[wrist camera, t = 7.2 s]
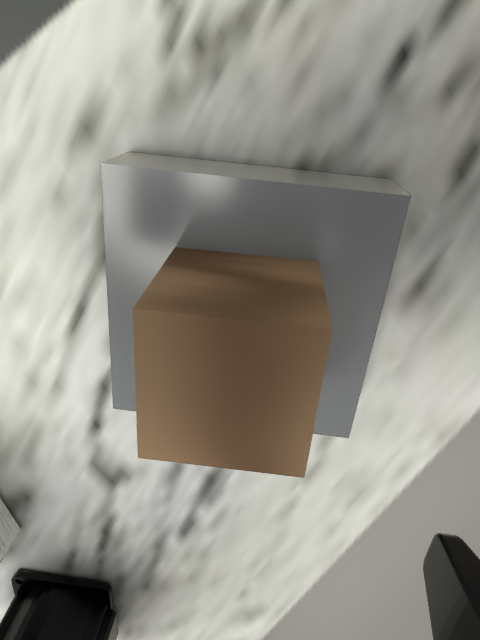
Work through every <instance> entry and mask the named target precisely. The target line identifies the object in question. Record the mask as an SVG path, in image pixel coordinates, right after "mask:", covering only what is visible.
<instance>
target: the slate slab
mask: <svg viewBox="0 0 480 640" xmlns="http://www.w3.org/2000/svg"><path fill="white" fill-rule="evenodd" d="M101 176H102V196H103V216H104V236H105V256H106V275H107V295H108V315H109V335H110V355H111V375H112V395H113V408H114V409H122V410H129V411H136V385H135V357H134V330H133V307H134V306H135V304H136V303H137V302H138V300H139V299H140V297H141V296H142V294H143V293H144V291H145V290H146V288H147V287H148V286H149V284H150V283H151V281H152V280H153V278H154V277H155V275H156V274H157V272H158V271H159V270H160V268H161V267H162V265H163V264H164V262H165V261H166V259H167V258H168V256H169V255H170V254H171V252H172V251H173V249H174V248H175V247H180V248H190V249H200V250H210V251H220V252H230V253H240V254H250V255H260V256H270V257H280V258H289V259H299V260H309V261H319V265H320V270H321V275H322V280H323V285H324V290H325V295H326V300H327V305H328V310H329V314H330V319H331V324H332V329H333V330H332V336H331V341H330V346H329V351H328V356H327V362H326V367H325V372H324V377H323V383H322V388H321V393H320V398H319V403H318V409H317V414H316V419H315V424H314V429H313V434H321V435H328V436H336V437H344V438H349V435H350V431H351V427H352V423H353V420H354V416H355V412H356V408H357V404H358V400H359V396H360V392H361V388H362V384H363V381H364V377H365V373H366V369H367V365H368V361H369V357H370V353H371V349H372V345H373V342H374V338H375V334H376V330H377V326H378V322H379V318H380V314H381V310H382V306H383V302H384V299H385V295H386V291H387V287H388V283H389V279H390V275H391V271H392V267H393V263H394V260H395V256H396V252H397V248H398V244H399V240H400V236H401V232H402V228H403V224H404V221H405V217H406V213H407V209H408V205H409V201H410V197H411V196H410V195H409V194H408V193H407V192H406V191H404V190H403V189H402V188H401V187H400V186H398V185H397V184H396V183H395V182H394V181H392V180H391V179H383V178H374V177H364V176H355V175H345V174H336V173H326V172H317V171H307V170H298V169H288V168H278V167H269V166H259V165H250V164H240V163H231V162H221V161H212V160H202V159H193V158H183V157H173V156H164V155H154V154H145V153H135V152H127V153H125V154H122V155H120V156H117V157H115V158H112V159H110V160H107V161H105V162H102V163H101Z"/></svg>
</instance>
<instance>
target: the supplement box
mask: <svg viewBox="0 0 480 640" xmlns="http://www.w3.org/2000/svg"><path fill="white" fill-rule="evenodd" d="M19 532H20V528H19V526H18V524H17V523H16V521H15V520H14V518H13V517H12V515H11V514H10V512H9V510H8V509H7V507H6V506H5V504H4V502H3V501H2V499H1V498H0V563H1V561H2V560H3V558H4V556H5V555H6V553H7V551H8V550H9V548H10V546H11V545H12V543H13V541H14V540H15V538H16V537H17V535H18V533H19Z"/></svg>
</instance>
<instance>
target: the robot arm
mask: <svg viewBox="0 0 480 640" xmlns="http://www.w3.org/2000/svg"><path fill="white" fill-rule="evenodd" d="M423 572H424V579H425V585H426V593H427V599H428V606H429V613H430V620H431V627H432V633H433V640H480V559H479V558H478V557H477V556H476V555H475V553H474V552H473V551H472V550H471V549H470V548H469V547H468V545H467V544H466V543H465V542H464V541H463V540H462V539H461V538H460V537H458V536H456V535H451V534H443V533H437V534H436V535H435V536H434V537H433V540H432V542H431V544H430V547H429V549H428V551H427V554H426V556H425V559H424V564H423ZM12 585H13V589H14V593H15V596H14V598H13V600H12V602H11V604H10V606H9V608H8V610H7V612H6V613H5V615H4V617H3V619H2V621H1V623H0V640H116V639H117V635H118V626H117V613H116V611H115V610H114V609H113V600H112V588H111V586H110V585H109V584H107V583H102V582H95V581H88V580H81V579H74V578H67V577H60V576H52V575H45V574H38V573H31V572H24V571H17V572H16V573H15V574H14V576H13V578H12Z"/></svg>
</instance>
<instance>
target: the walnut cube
mask: <svg viewBox="0 0 480 640" xmlns="http://www.w3.org/2000/svg"><path fill="white" fill-rule="evenodd" d="M133 330H134V357H135V385H136V413H137V441H138V458H144V459H153V460H161V461H169V462H178V463H186V464H194V465H203V466H211V467H219V468H228V469H236V470H244V471H253V472H261V473H269V474H278V475H286V476H294V477H303V478H304V476H305V471H306V466H307V461H308V456H309V450H310V445H311V440H312V435H313V429H314V424H315V419H316V414H317V409H318V403H319V398H320V393H321V388H322V383H323V377H324V372H325V367H326V362H327V356H328V351H329V346H330V341H331V336H332V330H333V329H332V324H331V319H330V314H329V310H328V305H327V300H326V295H325V290H324V285H323V280H322V275H321V270H320V265H319V261H309V260H299V259H289V258H280V257H270V256H260V255H250V254H240V253H230V252H220V251H210V250H200V249H190V248H180V247H175V248H174V249H173V251H172V252H171V254H170V255H169V256H168V258H167V259H166V261H165V262H164V264H163V265H162V267H161V268H160V270H159V271H158V272H157V274H156V275H155V277H154V278H153V280H152V281H151V283H150V284H149V286H148V287H147V288H146V290H145V291H144V293H143V294H142V296H141V297H140V299H139V300H138V302H137V303H136V304H135V306H134V307H133Z"/></svg>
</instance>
